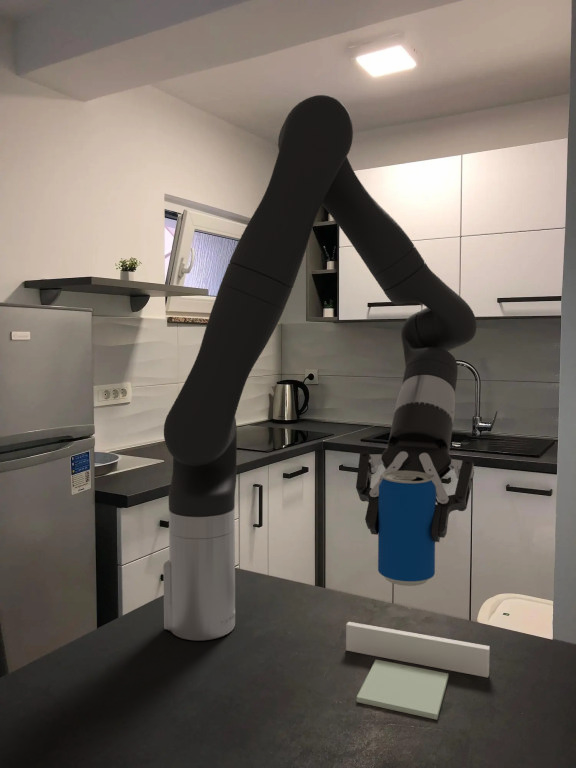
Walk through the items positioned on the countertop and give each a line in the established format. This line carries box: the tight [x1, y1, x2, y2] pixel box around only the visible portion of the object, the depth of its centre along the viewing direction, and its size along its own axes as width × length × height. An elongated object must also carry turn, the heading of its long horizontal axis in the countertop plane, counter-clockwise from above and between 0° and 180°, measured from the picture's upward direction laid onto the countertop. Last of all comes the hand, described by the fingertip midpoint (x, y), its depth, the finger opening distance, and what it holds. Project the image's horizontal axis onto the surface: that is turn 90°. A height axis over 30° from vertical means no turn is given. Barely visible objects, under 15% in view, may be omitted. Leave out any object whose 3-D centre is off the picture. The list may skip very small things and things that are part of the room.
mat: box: [356, 659, 449, 720], centre depth 74 cm, size 9×9×1 cm
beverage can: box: [377, 471, 437, 587], centre depth 73 cm, size 6×6×12 cm
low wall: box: [345, 621, 491, 678], centre depth 81 cm, size 18×1×4 cm, turn 68°
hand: (403, 534), depth 72 cm, fingers closed on beverage can, 6 cm apart
